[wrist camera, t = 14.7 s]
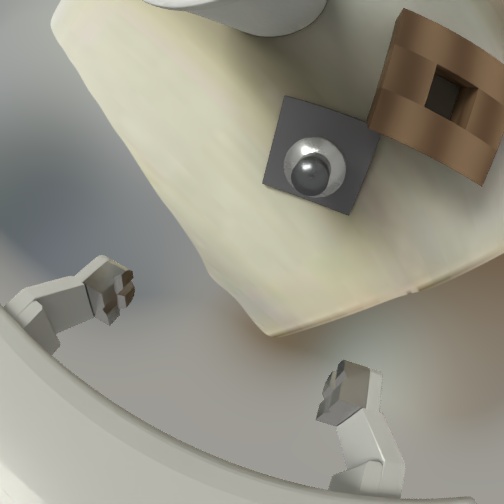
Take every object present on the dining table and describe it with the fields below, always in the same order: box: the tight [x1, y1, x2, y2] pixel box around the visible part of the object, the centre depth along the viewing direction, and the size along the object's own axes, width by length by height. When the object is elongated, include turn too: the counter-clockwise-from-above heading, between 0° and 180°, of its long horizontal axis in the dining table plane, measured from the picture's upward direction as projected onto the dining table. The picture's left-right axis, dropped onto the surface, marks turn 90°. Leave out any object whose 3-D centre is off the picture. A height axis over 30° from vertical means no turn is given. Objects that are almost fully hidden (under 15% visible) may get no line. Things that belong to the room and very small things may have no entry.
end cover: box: [284, 136, 346, 198], centre depth 29 cm, size 6×6×9 cm
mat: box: [262, 96, 381, 216], centre depth 33 cm, size 12×12×1 cm
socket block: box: [366, 8, 504, 187], centre depth 21 cm, size 14×14×6 cm
